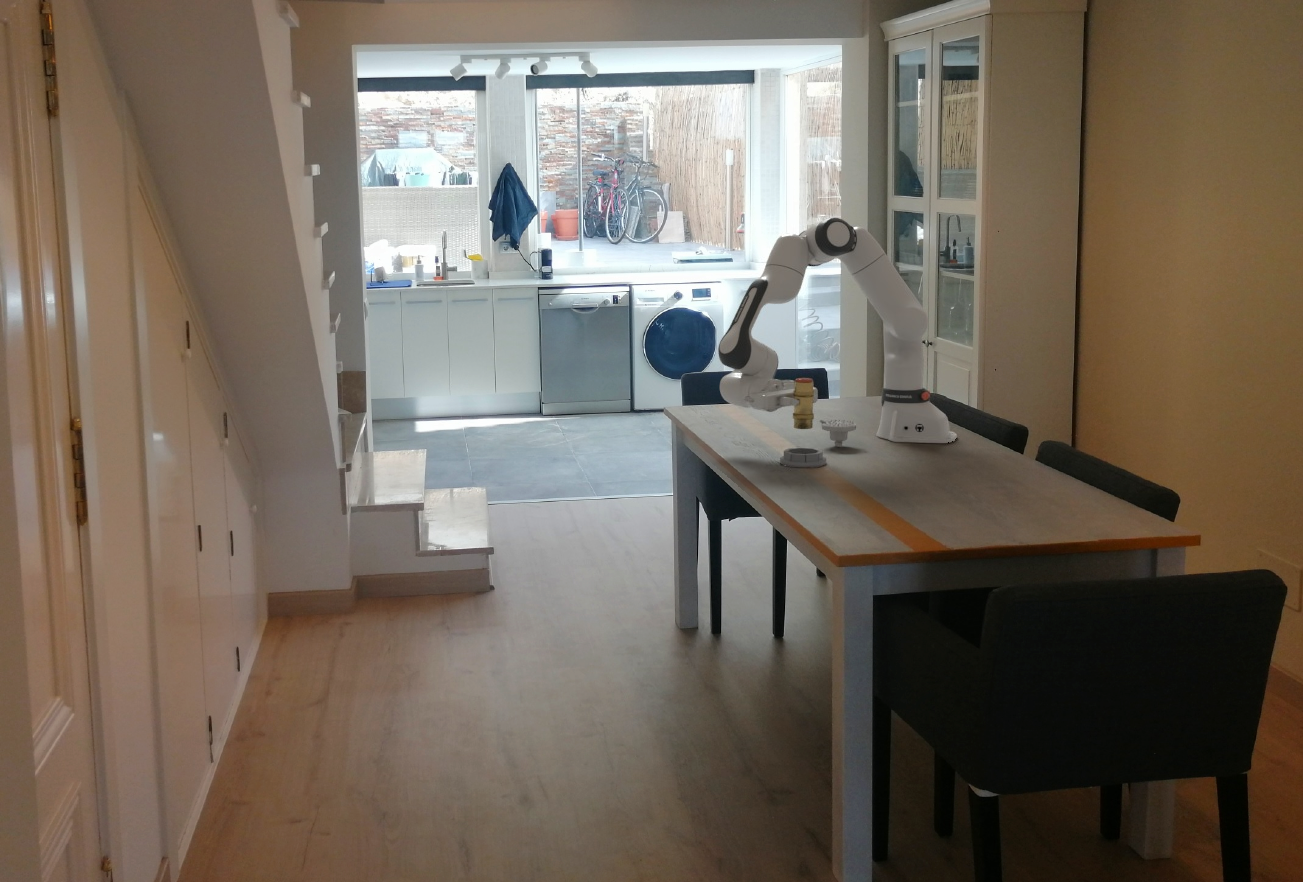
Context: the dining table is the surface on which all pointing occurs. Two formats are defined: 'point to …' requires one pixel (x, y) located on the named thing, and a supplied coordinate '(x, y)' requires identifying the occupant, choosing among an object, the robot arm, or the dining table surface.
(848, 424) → the showerhead
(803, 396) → the cylinder
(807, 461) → the flange fitting
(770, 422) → the dining table surface
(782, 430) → the dining table surface
